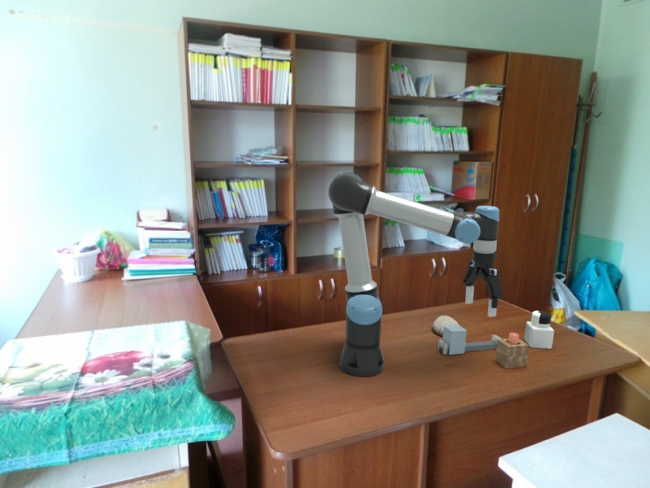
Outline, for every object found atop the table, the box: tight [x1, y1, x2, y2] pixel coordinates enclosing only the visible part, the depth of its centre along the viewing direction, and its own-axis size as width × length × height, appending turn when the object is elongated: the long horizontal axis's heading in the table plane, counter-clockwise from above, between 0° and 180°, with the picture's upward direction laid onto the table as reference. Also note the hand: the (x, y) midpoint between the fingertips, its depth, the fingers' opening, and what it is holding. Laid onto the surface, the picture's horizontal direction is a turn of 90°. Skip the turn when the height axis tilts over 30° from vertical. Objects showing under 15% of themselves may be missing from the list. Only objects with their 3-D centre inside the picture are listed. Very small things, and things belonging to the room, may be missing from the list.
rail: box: [437, 334, 502, 355], centre depth 166 cm, size 24×4×4 cm, turn 104°
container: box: [524, 310, 555, 350], centre depth 171 cm, size 8×8×13 cm
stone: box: [432, 314, 460, 337], centre depth 182 cm, size 13×10×8 cm
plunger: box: [508, 331, 520, 345], centre depth 155 cm, size 3×3×8 cm
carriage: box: [442, 324, 467, 356], centre depth 164 cm, size 6×6×9 cm
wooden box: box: [495, 338, 530, 370], centre depth 155 cm, size 8×6×8 cm
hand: (479, 309), depth 158 cm, fingers open, 13 cm apart
